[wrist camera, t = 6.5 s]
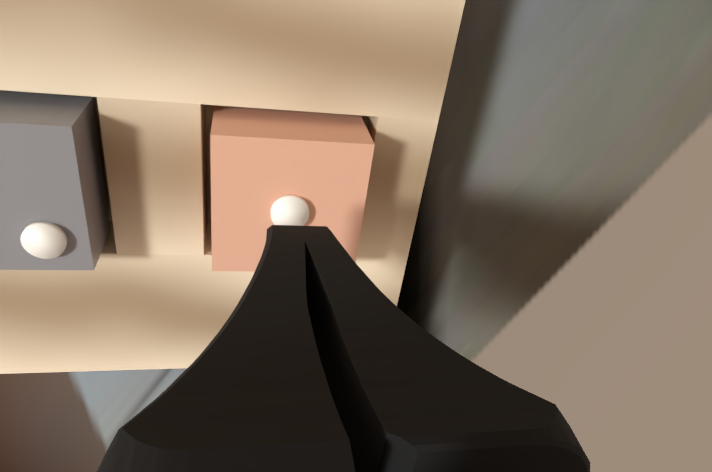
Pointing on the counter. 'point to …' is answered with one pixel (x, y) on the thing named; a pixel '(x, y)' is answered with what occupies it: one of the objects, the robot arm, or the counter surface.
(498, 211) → the counter surface
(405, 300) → the counter surface
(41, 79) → the tile panel
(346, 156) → the terracotta tile
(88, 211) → the charcoal tile
